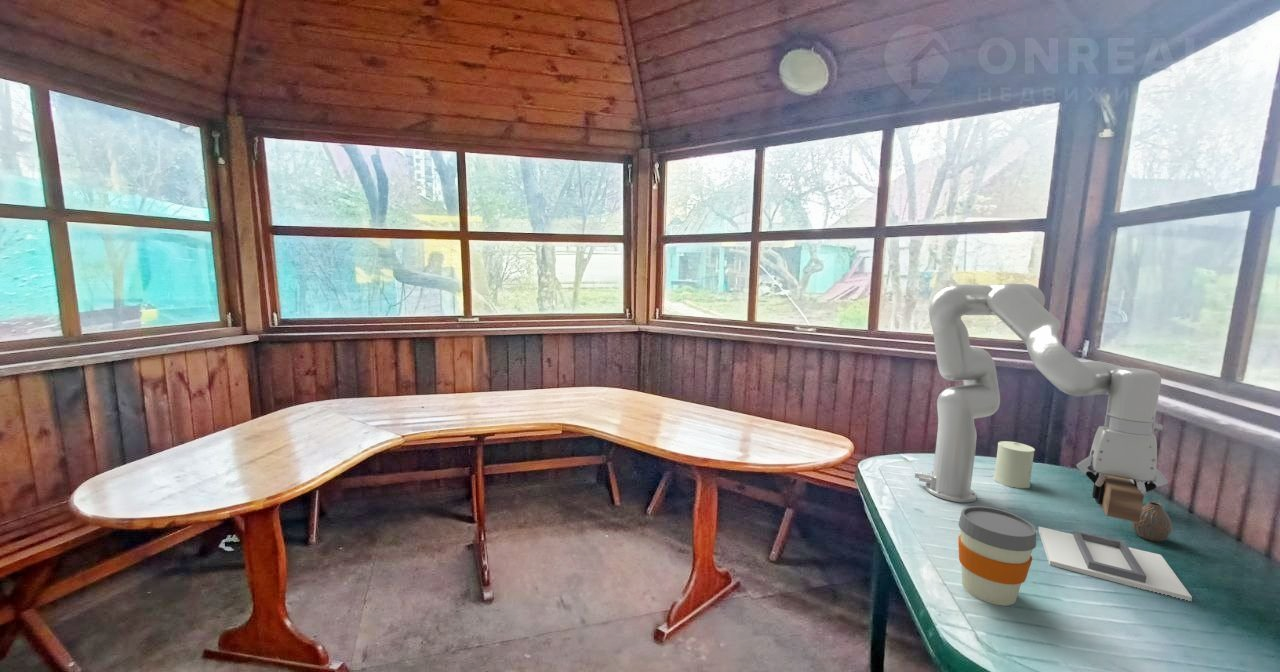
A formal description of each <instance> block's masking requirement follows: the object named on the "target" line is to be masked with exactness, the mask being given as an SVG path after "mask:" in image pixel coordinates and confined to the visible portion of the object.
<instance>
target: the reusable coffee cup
mask: <svg viewBox="0 0 1280 672" xmlns="http://www.w3.org/2000/svg"><path fill="white" fill-rule="evenodd" d="M958 527H959V529H960V530H959V531H960V534H959V535H958V537H957V538H958V560H959V563H960V564H961V585H962V587H963V588H964V590H966V592H967V593H969V594H970V595H971V596H973V597H975V598H976V599H977V600H981V601H983V602H986V603H988V604H989V603H990V604H992V605H997V606H1005V607H1006V606H1012V605H1013V604H1015V603H1016V601H1017V599H1018V596H1019V591H1020V589H1021V586H1022V584H1024V582H1025V581H1026V579H1027V576H1028V574H1029V571H1030V566H1031V564H1032V561H1033V557H1032V552H1033V550H1034V549H1035V548H1036V547H1037V530H1036V527H1035V525H1033V524H1032V523H1031V522H1029V521H1028V520H1026V519H1025V518H1023V517H1021V516H1018V515H1017V514H1015V513H1011V512H1009V511H1006V510H1002V509H999V508H995V507H988V506H980V505H979V506H978V505H975V506H974V505H972V506H966V507H964V508H963V509H962V510H961V513H960V516H959V521H958Z"/></svg>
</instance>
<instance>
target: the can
mask: <svg viewBox="0 0 1280 672" xmlns="http://www.w3.org/2000/svg"><path fill="white" fill-rule="evenodd" d="M1035 451H1036V449H1035V448H1034V447H1033V446H1030V445H1029V444H1028V445H1027V444H1024V443H1022V442H1021V443H1020V442H1017V441H1009V440H1008V441H1007V440H1002V441H998V442H997V453H996V459H995V467H994V474H993V477H992V478H993V480H994V481H995V482H997V483H999V484H1001V485H1004V486H1005V487H1010V488H1014V487H1015V489H1029V488H1030V487H1031V476H1032V469H1033V463H1034V456H1035Z"/></svg>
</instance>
